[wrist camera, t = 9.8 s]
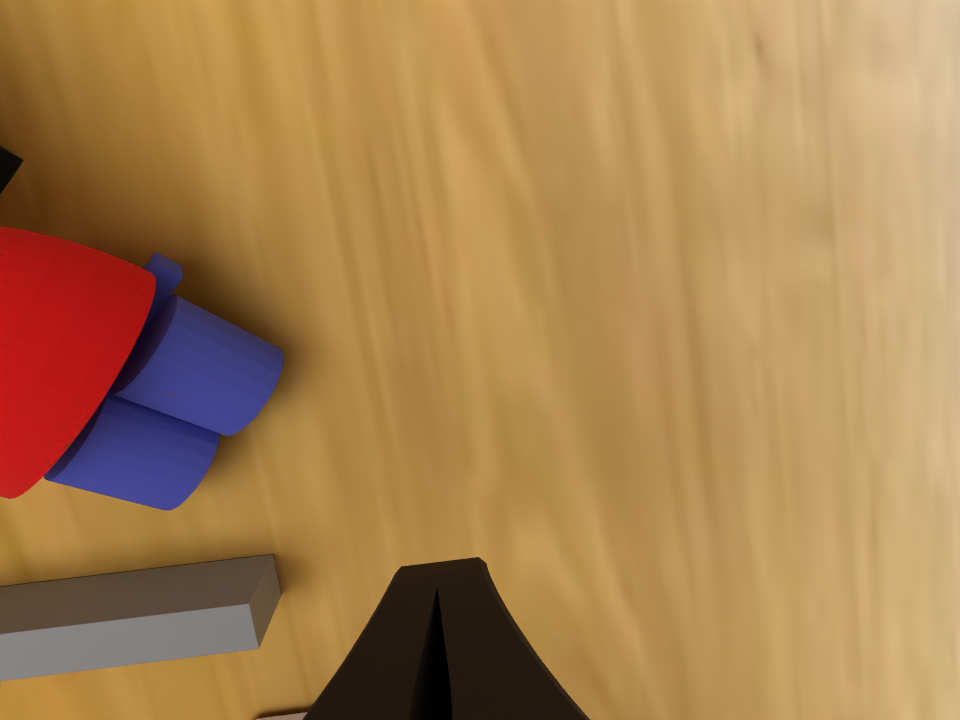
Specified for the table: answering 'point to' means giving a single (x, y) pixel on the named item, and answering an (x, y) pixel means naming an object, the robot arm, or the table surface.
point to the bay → (136, 616)
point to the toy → (115, 372)
